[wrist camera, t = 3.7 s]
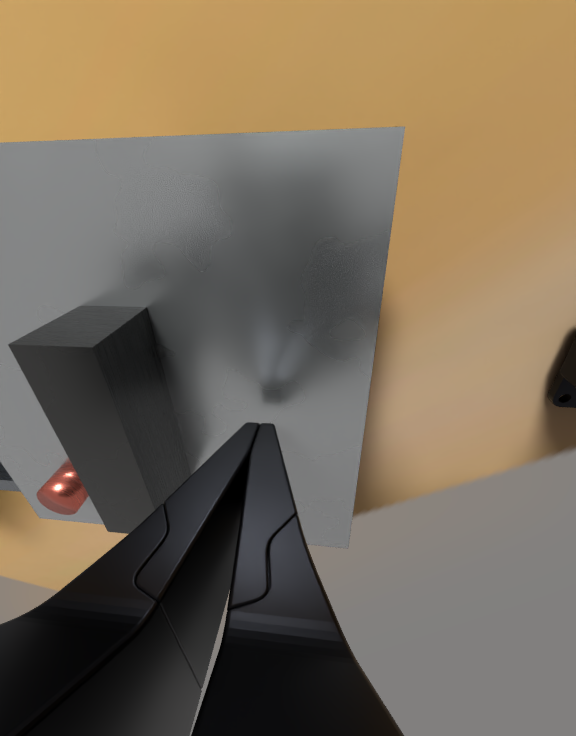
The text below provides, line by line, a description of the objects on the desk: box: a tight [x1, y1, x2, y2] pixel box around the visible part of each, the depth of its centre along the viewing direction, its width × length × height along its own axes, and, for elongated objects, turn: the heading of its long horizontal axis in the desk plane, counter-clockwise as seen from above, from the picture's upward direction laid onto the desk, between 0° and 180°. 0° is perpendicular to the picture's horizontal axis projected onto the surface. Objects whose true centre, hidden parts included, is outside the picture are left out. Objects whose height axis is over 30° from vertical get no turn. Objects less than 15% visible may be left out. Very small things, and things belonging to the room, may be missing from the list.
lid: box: [0, 127, 405, 548], centre depth 10 cm, size 15×15×3 cm
